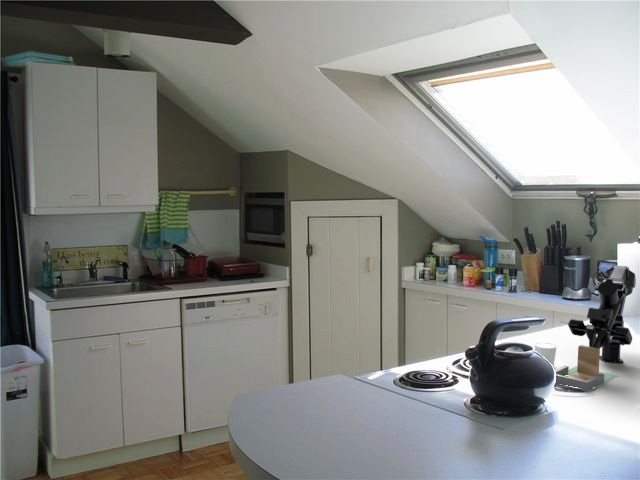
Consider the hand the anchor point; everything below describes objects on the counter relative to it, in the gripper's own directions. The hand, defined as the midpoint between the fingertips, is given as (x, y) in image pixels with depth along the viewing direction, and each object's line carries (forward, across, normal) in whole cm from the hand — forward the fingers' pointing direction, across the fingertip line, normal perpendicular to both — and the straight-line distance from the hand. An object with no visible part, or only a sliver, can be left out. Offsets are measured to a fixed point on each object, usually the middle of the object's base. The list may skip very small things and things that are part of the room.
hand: (590, 353), depth 216 cm
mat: (+9, 0, +2) cm, 9 cm away
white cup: (+5, -15, +5) cm, 17 cm away
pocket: (+12, 0, -2) cm, 12 cm away
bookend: (+9, 0, +1) cm, 9 cm away
